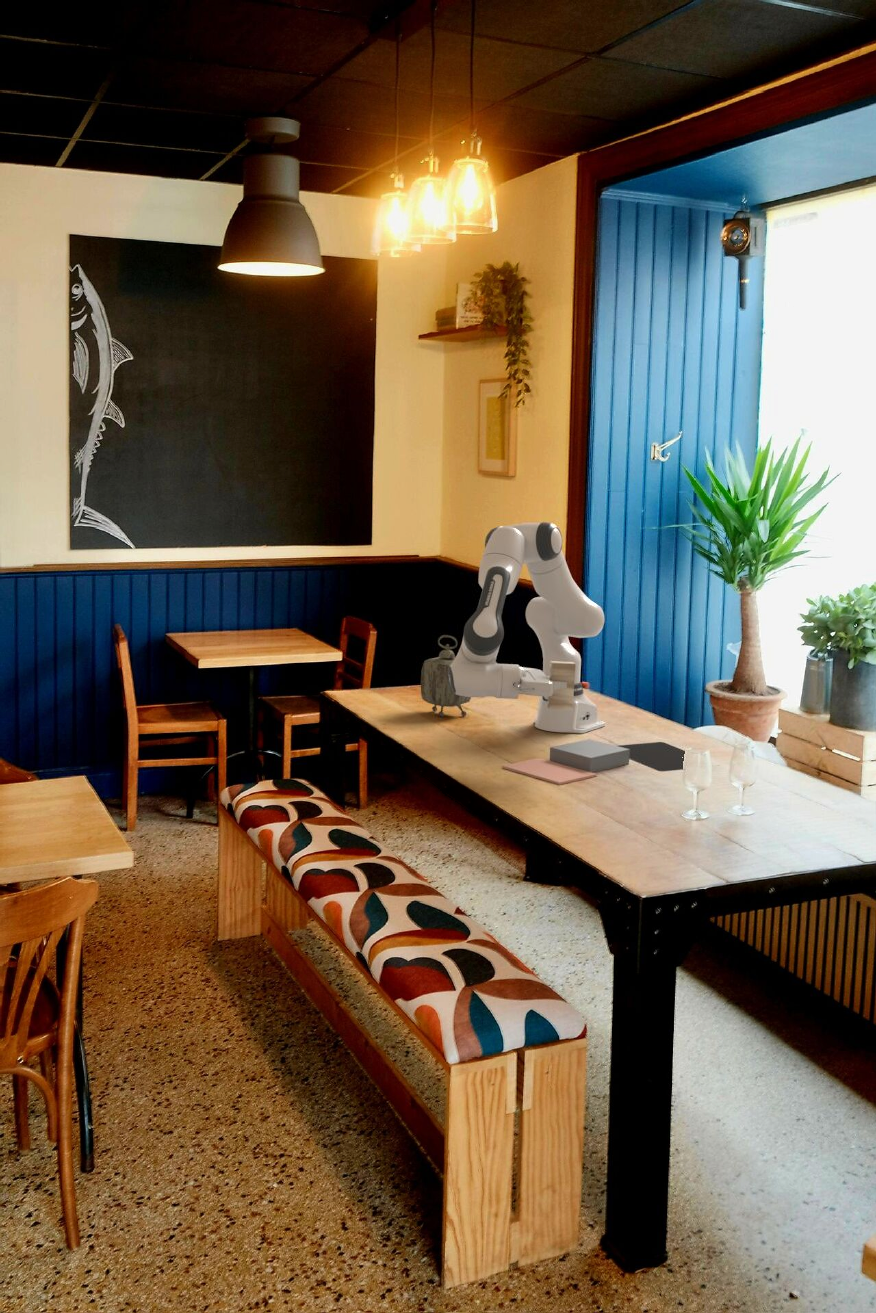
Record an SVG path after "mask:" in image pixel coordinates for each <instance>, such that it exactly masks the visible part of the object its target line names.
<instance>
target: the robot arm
mask: <svg viewBox="0 0 876 1313" xmlns="http://www.w3.org/2000/svg"><path fill="white" fill-rule="evenodd" d="M562 548H563V536H562V532H561V530H560V528H559V527H558V526H556V524H554V523H551V522H545V521H543V522H540V523H539V522H521V523H517V524H511V525H505V526H502V525H500V526H497V527H494V528H492V529H490V530H489V531H488V533H487V535H486V536H485V540H484V550H483V554H482V556H481V560H480V565H479V570H478V584H479V586H480V587H481V589H482V591H481V594H480V598H479V601H478V605H477V608H476V610H475V611H474V613H473V614H472V615H471V616H470V618H469V619H468V620H467V621H466V623H465V625H464V627H463V636H462V641H461V644H460V647H459V649H458V652H457V654H456V655H455V657H456V658H455V659H454V661H453V662H452V664H451V665H449V667H448V683H449V687H450V689H451V691H452V692H453V693H454V694H457V695H460V696H466V697H471V698H481V699H482V698H486V697H487V698H488V697H490V698H496V699H504V700H505V699H506V700H509V699H510V700H518V699H519V696H520V695H525V696H531V697H532V696H533V697H539V700H538V707H537V713H536V714H537V715H536V718H534V727H535V728H537V729H539V730H541V731H547V732H553V733H572V734H573V733H574V734H585V733H587V732H588V733H589V732H590V731H594V730H597V729H600V728H603V727H606V722H605V721H603V720H601V719H599V718H598V707H597V705H596V704H595V703H594V702H593V701H592V700H591V699H590V698H588V697H587V696H586V694H584V692H585V691H584V690H585V689H586V690H589V688H590V686H591V685H590V683H589V682H585V681H582V682H581V668H582V667H581V666H582V658H581V654H580V652H578V651H577V649H575V648H574V647H573V645H572V644H571V643H570V640H569V637H571V638H572V637H573V638H578V639H582V638H593V637H597V636H598V635H599V634H600V633H601V632H602V630H603V628H604V624H605V613H604V611H603V608H602V607H601V606H600V605H599V604H597V603H595V602H594V601H592V600H591V599H590V598H589V597H588V596H587V595H586V594H585V593H584V592H583V591H582V589H581V588H580V587H579V586H578V585H577V584H578V583H576V582H575V580H574V579H573V577H572V574H571V572H570V569H569V567H568V564H567V561H566V557H565V555H564V553H563V550H562ZM524 564H525V565H526V569H527V571H528V574H529V577H530V580H531V582H532V585H533V588H534V590H535V592H536V594H537V595H539V596H537V597H534V598H532V599H531V600H530V601H529V602H528V604H527V606H526V609H525V619H526V623H527V625H528V626H529V627H530V628H531V629H532V630H533V631H534V633H535V635H536V636H537V638H538V641H539V644H540V648H541V651H542V658H543V659H542V660H543V661H542V665H543V666H542V670H541V669H538V668H532V667H525V666H523V667H522V666H520V665H519V664H513V663H510V664H509V663H498V662H497V661H496V660H497V656H498V653H499V651H500V650H499V649H500V646H501V644H502V642H503V640H504V636H505V630H504V624H503V620H502V615H503V609H504V605H505V601H506V597H507V595H510V594H512V593H513V592H514V590H515V588H516V586H517V584H518V581H519V579H520V577H521V572H522V570H523V565H524ZM550 661H558V662H574V663H575V664H576V666H575V681H574V696H573V710H552V709H549V708H548V696H552V693H553V690H556V689H566V688H567V683H566V682H565V681H550V679H549V676H550Z"/></svg>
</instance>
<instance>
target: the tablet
mask: <svg viewBox="0 0 876 1313" xmlns="http://www.w3.org/2000/svg"><path fill="white" fill-rule="evenodd" d="M618 746H619V747H623V748H627V749H630V755H629V760H631V761H634V762H636V763H638V764H640V763H641V764H640V765H643V766H646V767H648V768H650V769H653V770H655V771H659V772H670V771H680V770H684V769H683V761H684V754H685V751H686V750H684V749H682V748H679V747H676V746H674V745H672V744H669V743H666V742H665V741H657V742H656V741H655V742H645V743H633V744H622V745H621V744H620V745H618ZM682 757H683V758H682Z"/></svg>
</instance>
